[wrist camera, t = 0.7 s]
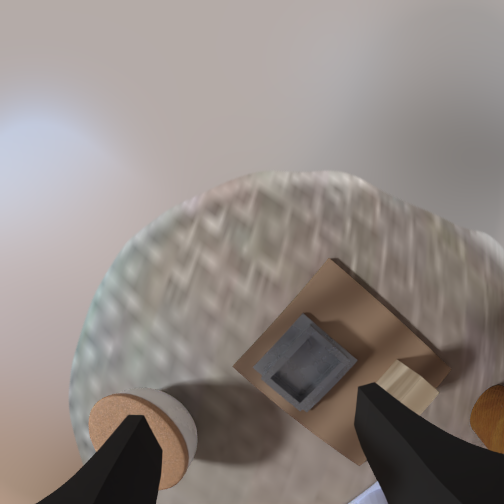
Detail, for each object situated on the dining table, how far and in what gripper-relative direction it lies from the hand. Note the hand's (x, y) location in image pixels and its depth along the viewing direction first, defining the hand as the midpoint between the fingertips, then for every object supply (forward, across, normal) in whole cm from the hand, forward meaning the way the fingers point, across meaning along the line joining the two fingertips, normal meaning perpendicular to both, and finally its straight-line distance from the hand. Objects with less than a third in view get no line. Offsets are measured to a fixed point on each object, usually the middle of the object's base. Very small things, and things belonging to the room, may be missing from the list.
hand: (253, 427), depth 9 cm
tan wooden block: (+13, -13, +13) cm, 22 cm away
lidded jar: (+17, +11, +17) cm, 26 cm away
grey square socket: (+17, -5, +10) cm, 20 cm away
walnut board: (+15, -9, +12) cm, 21 cm away
